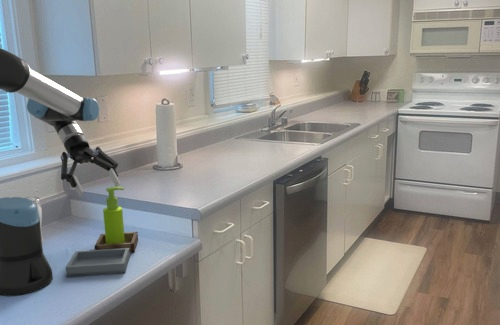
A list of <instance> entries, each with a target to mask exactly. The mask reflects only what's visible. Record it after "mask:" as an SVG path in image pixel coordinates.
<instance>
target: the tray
mask: <svg viewBox="0 0 500 325" xmlns="http://www.w3.org/2000/svg"><path fill="white" fill-rule="evenodd" d="M130 258H131V253H130V252H129V248H120V249H104V250H95V249H92V250H91V249H90V250H76V251H74V252H73V254H72V256H71V258H70V260H69V261H68V262H67V265H66V266H65V273H66V278H76V277H77V278H78V277H92V276H106V275H107V276H108V275H119V274H126V271H127V268H128V264H129V261H130Z"/></svg>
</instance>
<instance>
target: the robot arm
mask: <svg viewBox="0 0 500 325" xmlns="http://www.w3.org/2000/svg"><path fill="white" fill-rule="evenodd" d="M0 90H1V91H4V92H6V93H10V94H13V93H17V94H20V95H22V96H24V97H26V98H28V100H27V103H26V110H27V112H28V113H29V114H30V115H31V116H33V117H34V118H36V119H38V120H40V121H42V122H44V123H46V124H48V125H50V126H52V127H53V128H54V130H55V132H56V134H57V135H58V137H59V139H60V141H61V143H62V144H63V147H64V149H65V150H66V151H62V153H61V154H60V155H61V156H60V159H61V160H60V161H61V171H60V172H61V173H60V179H61V181H64V180H66V181H65V182H68V183H69V184H70V186H71V188H74V189H75V191H76V193H77V195H78V196H79V198H80V197H82V196H83V194H84V192H85V191H84V189H83V187H82V185H81V183H80V181H79V179H78V177H77V176H76V175H74V174H75V171H76V167H77V165H78V164H80V165H83V164H87V163H91V164H95V165H96V166H98V167H99V168H102V169H103V170H106V171H108V173H107V174H108V177H109V178H110V179H111V182H112V183H113V185H114V187H121V185H122V182H121V181H120V179H119V174H118V172H117V168H118V166H119V163H118V162H116V161H115V160H114V159H113V158H112V157H110V156H109V155H108V154H107V153H105V152H104V151H103V150H102V149H101V148H100V146H96V147H95V148H91V146H90V144H89V141H88V140H87V138H86V136H85V135H84V133H83V131H82V129H81V128H80V126H79V124H78V122H93V121H96V120H97V119H98V118H99V114H100V113H99V112H100V105H99V102H98V101H97V99H95V98H94V97H88V96H86V97H83V96H82V97H81V96H80V95H78V94H76V93H74V92H72V91H71V90H69V89H67V88H66V87H64V86H62V85H60V84H58V83H57V82H55V81H53V80H52V79H50V78H48V77H46V76H44V75H43V74H41V73H39V72H37V71H36V70H34V69H32V68H30V65H29V63H28V62H27V61H26V60H24V59H22V58H21V57H19V56H18V55H16V54H13V53H12V52H10V51H7V50H6V49H4V48H1V47H0ZM69 159H70V160H72V161H73V162H72V166H71V168H70V170H69V172H68V163H69V161H68V160H69ZM41 232H42V227H41V228H40V216H39V213H38V208H37V205H36V203H35V202H33V201H32V200H30V199H27V197H21V196H12V197H8V196H7V197H1V198H0V296H5V297H6V296H7V297H10V296H20V295H26V294H30V293H34V292H36V291H39V290H41V289H43V288H45V287H47V286H48V285H50V283H51V282H53V279H54V276H53V275H54V274H53V269H52V267H51V266H50V264H49V262H48V259H47V258H46V256H45V253H44V249H43V242H42V238H41Z"/></svg>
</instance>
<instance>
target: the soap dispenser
mask: <svg viewBox="0 0 500 325" xmlns="http://www.w3.org/2000/svg"><path fill="white" fill-rule="evenodd" d="M105 190H106V192H108V197H107V198H106V199H105V200H106V207H105V208H103V210H102V211H103V212H102V213H103V214H102V215H103V224H104V226H103V227H104V234H105V237H106V243H105V244H117V243H126V242H125V238H124V233H125V227H124V215H123V207H122V206H119V204H118V203H119V202H118V197H116V196H115V191H124V190H125V187H123V186H119V187H115V186H111V187H106V188H105Z"/></svg>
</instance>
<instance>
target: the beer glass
mask: <svg viewBox="0 0 500 325" xmlns="http://www.w3.org/2000/svg"><path fill="white" fill-rule="evenodd" d="M26 198H27V199H30V200H32V201H33V202H35V203H36V205H37V208H38V213H39V216H40V228H41V229H42V223H43V222H42V220H43V209H42V204H41V198H40V197H39V196H28V197H26ZM41 238H42V243H44V241H45V240H44V237H43V233H42V231H41Z"/></svg>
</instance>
